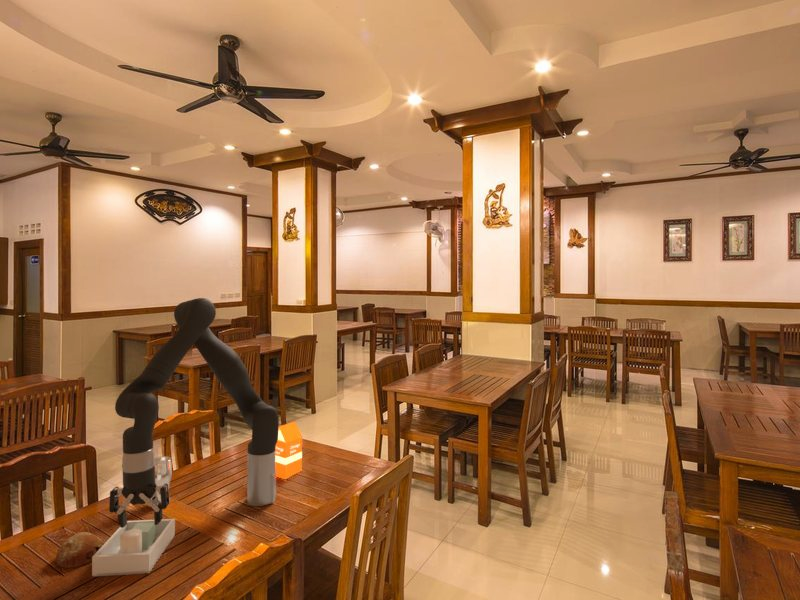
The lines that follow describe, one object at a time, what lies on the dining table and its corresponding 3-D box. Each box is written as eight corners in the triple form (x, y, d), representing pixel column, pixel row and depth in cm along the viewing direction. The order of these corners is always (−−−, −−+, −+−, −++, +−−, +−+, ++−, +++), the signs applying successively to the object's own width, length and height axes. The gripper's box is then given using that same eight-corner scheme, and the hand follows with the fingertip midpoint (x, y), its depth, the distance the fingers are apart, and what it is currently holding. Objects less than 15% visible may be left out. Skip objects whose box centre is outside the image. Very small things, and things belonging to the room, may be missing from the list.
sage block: (155, 539, 130) (155, 522, 130) (148, 549, 125) (148, 531, 125) (137, 540, 130) (137, 523, 129) (128, 550, 125) (128, 532, 124)
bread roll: (80, 559, 127) (67, 534, 127) (114, 543, 128) (101, 518, 127) (56, 582, 117) (42, 555, 117) (94, 564, 118) (80, 537, 118)
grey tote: (174, 535, 133) (174, 518, 133) (149, 573, 116) (149, 554, 116) (125, 537, 132) (125, 520, 132) (92, 576, 114) (92, 557, 114)
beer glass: (161, 510, 148) (161, 465, 147) (143, 507, 149) (143, 462, 149) (176, 500, 155) (176, 457, 154) (158, 498, 156) (158, 455, 156)
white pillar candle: (145, 553, 123) (145, 528, 123) (136, 565, 118) (136, 538, 118) (126, 554, 123) (125, 529, 122) (116, 566, 118) (116, 539, 117)
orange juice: (302, 472, 179) (302, 422, 179) (285, 480, 172) (285, 428, 171) (288, 468, 183) (288, 419, 183) (271, 475, 176) (271, 424, 175)
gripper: (172, 458, 126) (173, 515, 127) (116, 461, 124) (118, 519, 125) (161, 470, 119) (163, 530, 119) (102, 473, 117) (105, 534, 117)
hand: (140, 524), depth 122 cm, fingers open, 8 cm apart
